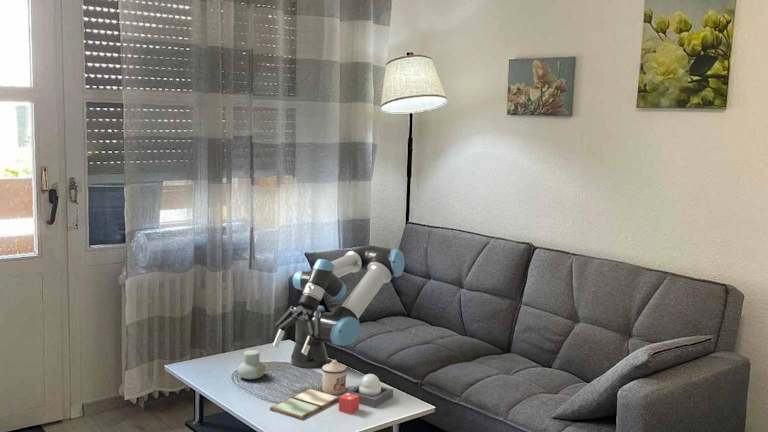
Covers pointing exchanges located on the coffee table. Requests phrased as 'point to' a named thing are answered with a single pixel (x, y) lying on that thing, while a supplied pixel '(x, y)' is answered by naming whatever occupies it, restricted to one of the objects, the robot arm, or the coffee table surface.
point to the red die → (349, 403)
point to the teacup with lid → (334, 378)
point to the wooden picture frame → (305, 403)
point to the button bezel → (370, 401)
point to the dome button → (370, 385)
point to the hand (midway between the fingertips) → (289, 350)
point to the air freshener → (251, 366)
